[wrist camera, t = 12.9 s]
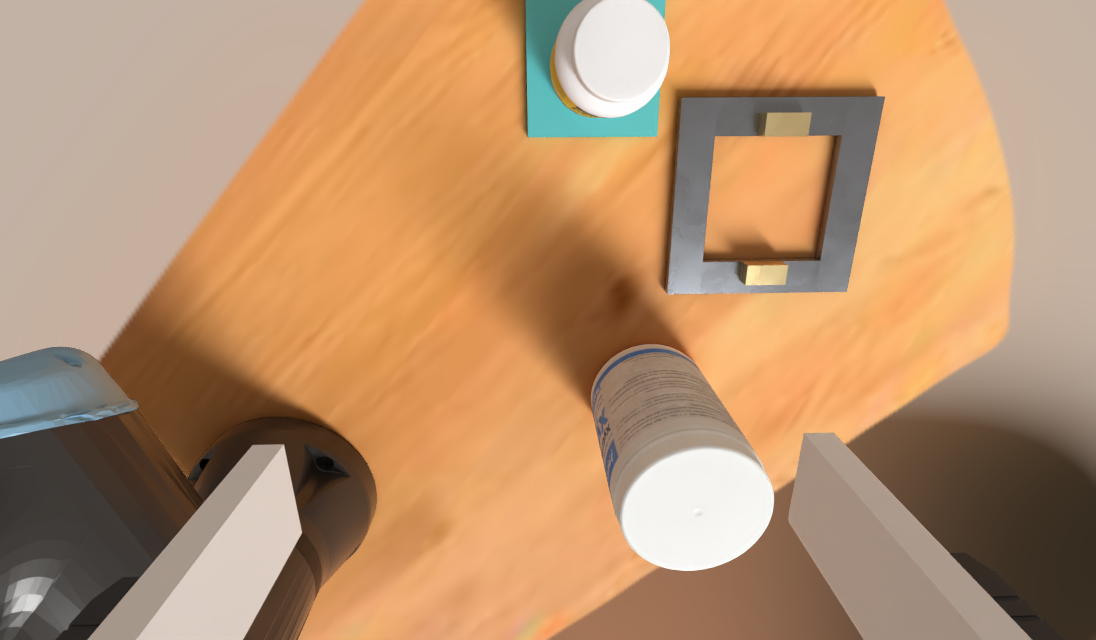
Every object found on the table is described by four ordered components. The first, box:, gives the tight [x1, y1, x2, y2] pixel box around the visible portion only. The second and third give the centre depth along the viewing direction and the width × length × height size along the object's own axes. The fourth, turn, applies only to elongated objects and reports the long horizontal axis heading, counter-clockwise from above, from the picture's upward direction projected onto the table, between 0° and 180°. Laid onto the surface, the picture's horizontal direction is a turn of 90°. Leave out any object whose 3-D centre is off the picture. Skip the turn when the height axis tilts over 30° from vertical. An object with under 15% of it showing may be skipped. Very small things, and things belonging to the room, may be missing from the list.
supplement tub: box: [591, 344, 774, 571], centre depth 39 cm, size 10×10×15 cm
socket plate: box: [665, 97, 885, 294], centre depth 39 cm, size 14×14×2 cm
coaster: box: [526, 0, 665, 137], centre depth 36 cm, size 9×9×1 cm
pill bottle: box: [550, 0, 670, 118], centre depth 31 cm, size 6×6×11 cm
